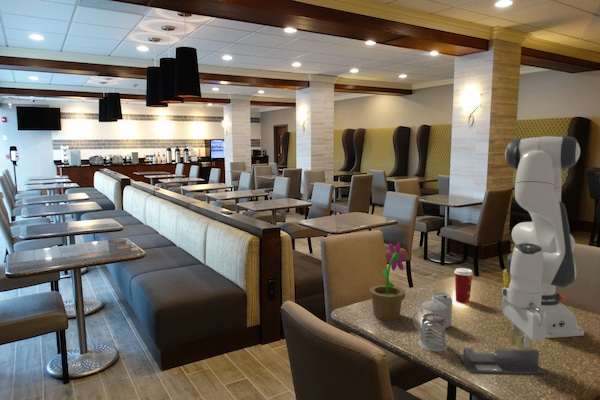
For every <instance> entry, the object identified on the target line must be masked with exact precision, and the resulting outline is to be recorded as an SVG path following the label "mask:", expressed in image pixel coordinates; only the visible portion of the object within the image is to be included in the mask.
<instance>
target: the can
mask: <svg viewBox="0 0 600 400" xmlns="http://www.w3.org/2000/svg"><path fill="white" fill-rule="evenodd" d="M432 300H433V301H434V293H433V295H432V296H431V298H430V301H432ZM435 301H439V302H441V303H443V304H444V305H446V306H447V309H446V310H444V311H430V313H434V314H439V315H441V316H443V317H444V318H445V320H444V321H445V322H446V329H448V328H450V327H451V326H452V318H453V317H452V316H453V315H452V314H453V313H452V312H453V299H452V298H451V294H449V293H445V292H435ZM432 323H433V322H432ZM434 324H436V325H437V326H441V325H439V324H437V323H434ZM431 326H434V325H433V324H431ZM435 327H436V326H435Z"/></svg>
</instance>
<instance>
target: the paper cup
mask: <svg viewBox="0 0 600 400" xmlns="http://www.w3.org/2000/svg"><path fill="white" fill-rule="evenodd" d="M453 273H454V275H455V276H454V279H455V280H454V283H455V302H457V303H461V304H468V303H470V300H471V291H472V281H473V275H474V273H473V270H472V269H470V268H464V267H458V268H455V270H454V272H453Z"/></svg>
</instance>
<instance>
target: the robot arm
mask: <svg viewBox="0 0 600 400" xmlns="http://www.w3.org/2000/svg"><path fill="white" fill-rule="evenodd" d="M580 155H581V147H580V144H579V143H578V140H577V138H575V137H572V136H568V135H567V136H565V135H563V136H551V135H549V136H546V135H544V136H543V135H542V136H538V137H537V136H535V137H534V136H533V137H529V138H528V137H526V138H522V137H521V138H515V139H511V140H510V141H509V142H508V144H507V145H506V149H505V152H504V157H505V161H506V164H507V165H508V166H509V167H510V168H513V169H514V170H516V174H515V183H514V197H515V198H514V199H515V201H516V203H517V204H518V205H519V207H521V208H522V209H524V210H525V211H527V212H528V213H529V215H530V218H531V221H523V222H519V223H517V224H516V225H514V227H512V231H511V238H512V242H514V244H515V245H514V248H513V251H512V252H510V253H508V255H507V260H506V261H507V263H506V264H507V265H506V269H507V271H506V272H507V273H508V274H509V275H510V276H511V281H510V283H509V288H504V287H503V288H501V294H502V305H501V307H502V313H503V316H504V317H505V318H507V319H508V320H509V322H511V328H512V329H520V330H521V331H522V332H523V333H524V336H525V337H524V339H522V345H523V346H524V347H530V342H531V343H532V341H533V342H543V341H545V340H546V338H547V339H552V338H553V339H557V338H568V337H582V336H585V330H584V329H583V328H582V327H581V326H580V325H578V320H577V317H576V315H575V313H573V312H572V311H571V310H569V308H567V307H566V305H564V304H563V303H561V302H566V301H567V296H565V295H563V294H559V292H556V287H558V288H559V287H560V288H565V287H567V286H569V285H571V284H573V283H574V282H575V280H576V278H577V271H578V270H577V266H576V262H575V259H574V255H573V253H574V251H575V248H576V242H575V238H574V236H573V235H572V234H571V233H570V225H569V219H568V214H567V213H568V212H567V210H566V206H565V203H563V201H562V183H563V182H562V172H561V171H563V172H564V171H566V170H567V169H571V168H572V167H574V166H575V165H576V164H577V162H578V160H579V158H580ZM560 301H561V302H560Z"/></svg>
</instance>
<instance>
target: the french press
mask: <svg viewBox="0 0 600 400" xmlns="http://www.w3.org/2000/svg"><path fill="white" fill-rule="evenodd" d="M432 278H434V280H436V278H437V279H438V278H439V274H438V273H433V274H432ZM435 293H436V290H434V293H433V294H434V301H433V300H432V301H431V300H428V301H427V300H426V301H423V303H421V306H422V308H421V307H420V308H418V309H416V310H415V312H414V314H412V315H413V320H412V322H413V324H414V327H415V328H416V329H417V330H419V331H420V339H419V340H418V342H417V344H418V345H419V347H421V348H422V349H423V350H427V351H429V352H444V351H447V350H448V348H449V345H448V344H447V342H446V329H447V328H446V322H445V321H444V320H445V318H444V317H443V316H441V315H439V314H434V313H431V311H444V310H446V309H447V306H446V305H444V304H443V303H441V302H439V301H435ZM423 309H425V310H427V311H430V312H429V313H425V314H424V310H423ZM419 312H421V314H423V315H422V319H421V327H420V326H418V325H417V324H416V322H415V319H416V315H417V314H418V313H419ZM432 322H433V323H432ZM434 323H437V324H439V325H441V326H437V325H436V324H434ZM432 324H433V325H434V326H433V325H432ZM435 326H436V327H435Z"/></svg>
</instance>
